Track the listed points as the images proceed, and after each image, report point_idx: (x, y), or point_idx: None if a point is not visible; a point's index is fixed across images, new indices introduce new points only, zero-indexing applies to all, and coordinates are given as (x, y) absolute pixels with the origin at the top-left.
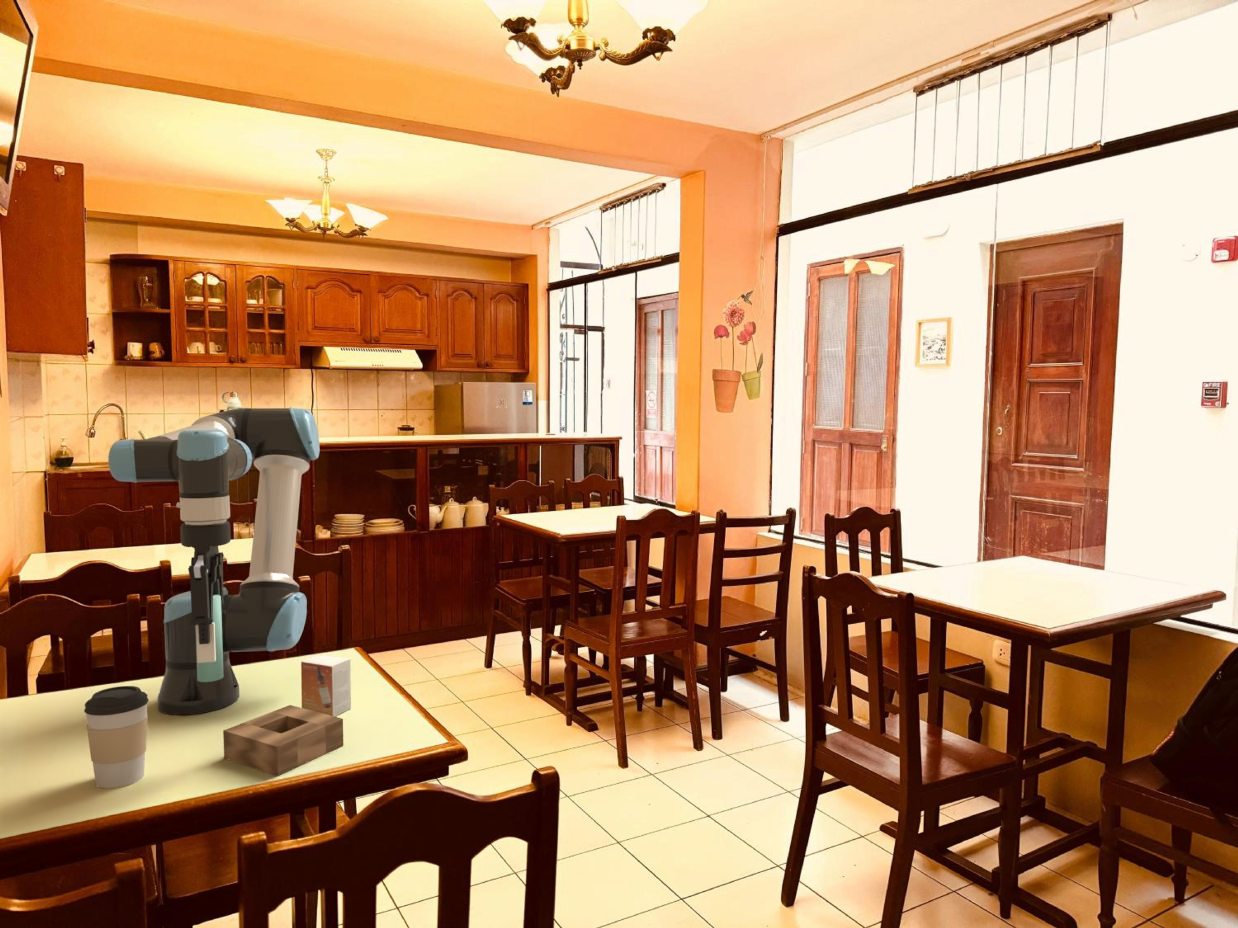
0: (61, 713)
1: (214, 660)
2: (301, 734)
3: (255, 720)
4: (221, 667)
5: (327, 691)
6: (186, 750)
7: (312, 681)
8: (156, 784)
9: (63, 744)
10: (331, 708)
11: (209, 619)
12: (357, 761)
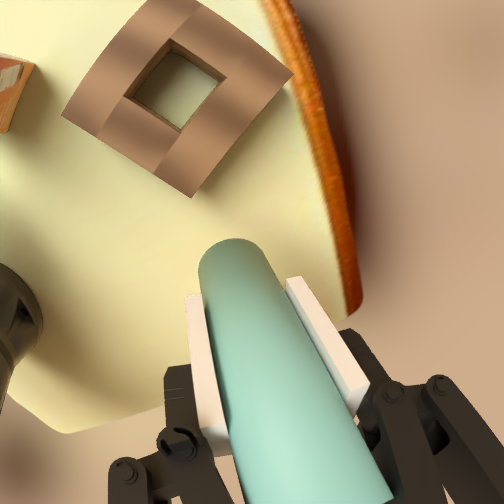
0: (73, 405)
1: (301, 278)
2: (240, 39)
3: (142, 153)
4: (248, 255)
5: (7, 70)
6: (153, 253)
7: None
8: (268, 244)
9: (141, 381)
10: (26, 64)
11: (448, 382)
12: None
